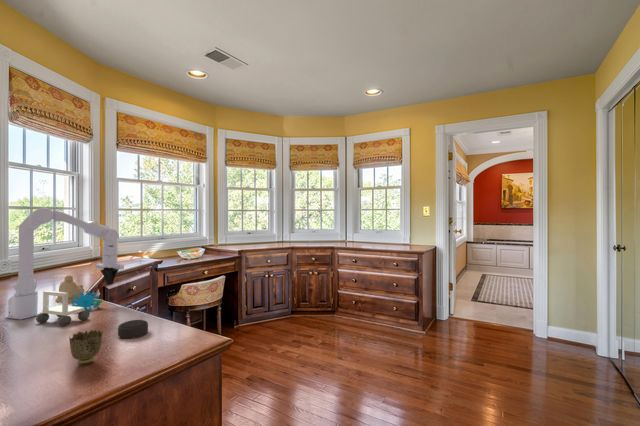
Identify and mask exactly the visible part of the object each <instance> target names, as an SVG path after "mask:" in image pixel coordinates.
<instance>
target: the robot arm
mask: <svg viewBox="0 0 640 426" xmlns="http://www.w3.org/2000/svg"><path fill="white" fill-rule="evenodd" d="M52 220H53V222H64V223H66V224H69V225H72V226H75V227H78V228H80V229H83V232H84V233H85V234H88V235H91V236H92V237H95V238H98V239H102V262H101V263H95V268H96V269H101V270H100V272H101V274H102V275H103V278H104V281H105V284H106V286H110V285H113V284H114V281H115V278H116V276H117V274H118V272H119V270H124V269H125V265H124V264H120V263H118V240H119V237H120V235H119V232H118V231H117V230H116V229H113V228H110V226H108V225H106V226H105V225H103V224H100V223H99V221H96V220H95V221H93V220H90V221H84V220H82V219H80V218H78V217H76V216H72V215H71V214H68V213H65V212H62V211H59V210H55V209H50V208H48V207H39V208H37V209H36V210H34V211H32V212H31V213H29V214H28V216H26V217H25V219H24V220H23V221H22V222H21V223H20V224H19V225H18V273H17V274H18V277H17V278H18V279H17V280H16V283H15V286H14V291H15V292H14V293H13V294H12V295H11V296H9V298H8V300H7V315H5V316H4V318H5V319H6V318H7V319H15V320H25V319H29V318H32V317H37V315H38V314H40V313H42V312H40V311H38V302H39V301H38V298H39V296H38V295H39V294H38V290H36V289H37V280H36V278H35V276H34V231H36V230H38V228H40V227H41V226H42V225H45V224H48V223H50V222H52Z"/></svg>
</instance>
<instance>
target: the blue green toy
mask: <svg viewBox="0 0 640 426" xmlns="http://www.w3.org/2000/svg"><path fill="white" fill-rule="evenodd" d="M85 293H86V294H84V293H83V292H80V296H81V297H80V298H78V295H75V296H74V298H75V299H77V300H78V301H75V300H74V299H73V300H72V301H71V302H70V303H71V306H75V307H84V310H87V311H89V312H92V310H93V308H94V309H96V308H100V307H99V306H100V305H101V303H103V302H104V301H103V300H104V299H102V298H101V299H99V298H100V295H96V292H95V291H93V292H92V293H91V291H90V290H86V292H85ZM83 294H84V296H82V295H83ZM92 306H93V308H92ZM87 308H88V309H87Z"/></svg>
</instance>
